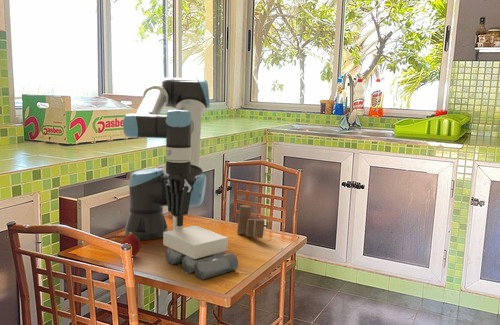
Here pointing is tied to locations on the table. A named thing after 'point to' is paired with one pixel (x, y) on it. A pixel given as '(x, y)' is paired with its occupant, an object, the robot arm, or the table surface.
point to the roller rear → (173, 256)
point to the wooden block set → (249, 223)
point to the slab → (195, 241)
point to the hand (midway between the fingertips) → (177, 235)
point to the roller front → (190, 263)
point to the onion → (132, 243)
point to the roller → (216, 266)
